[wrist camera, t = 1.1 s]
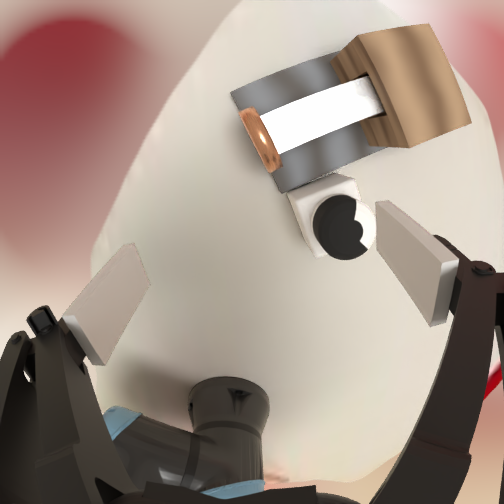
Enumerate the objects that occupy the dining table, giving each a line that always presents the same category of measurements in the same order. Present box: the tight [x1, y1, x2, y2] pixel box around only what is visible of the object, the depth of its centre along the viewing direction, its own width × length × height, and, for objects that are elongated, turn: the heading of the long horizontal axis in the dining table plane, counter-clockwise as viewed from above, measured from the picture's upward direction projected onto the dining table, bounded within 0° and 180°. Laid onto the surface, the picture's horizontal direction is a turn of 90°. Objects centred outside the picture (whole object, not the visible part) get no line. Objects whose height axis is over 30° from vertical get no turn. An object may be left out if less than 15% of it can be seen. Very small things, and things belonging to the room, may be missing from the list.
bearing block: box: [231, 24, 472, 193], centre depth 27 cm, size 25×14×12 cm, turn 116°
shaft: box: [238, 76, 385, 173], centre depth 26 cm, size 18×7×7 cm, turn 116°
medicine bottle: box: [287, 173, 376, 260], centre depth 31 cm, size 7×7×12 cm
